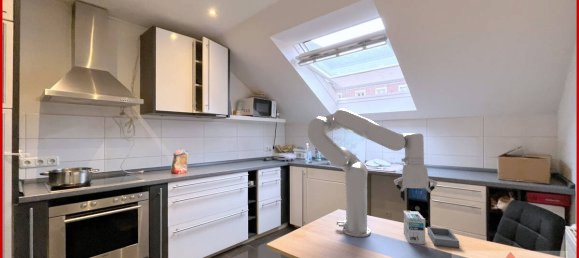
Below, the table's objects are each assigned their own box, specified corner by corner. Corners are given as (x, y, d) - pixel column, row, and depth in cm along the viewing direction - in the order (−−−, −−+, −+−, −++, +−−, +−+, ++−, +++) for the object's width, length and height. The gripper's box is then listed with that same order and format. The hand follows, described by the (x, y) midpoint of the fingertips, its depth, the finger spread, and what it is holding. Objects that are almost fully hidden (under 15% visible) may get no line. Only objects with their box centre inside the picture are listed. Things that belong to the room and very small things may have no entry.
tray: (434, 245, 109) (434, 238, 109) (427, 233, 122) (427, 226, 122) (459, 248, 107) (459, 241, 107) (449, 235, 119) (449, 228, 119)
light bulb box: (425, 244, 110) (425, 219, 110) (408, 243, 112) (408, 218, 111) (418, 234, 121) (418, 211, 120) (403, 233, 122) (403, 210, 122)
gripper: (394, 162, 114) (394, 201, 115) (438, 162, 110) (439, 203, 110) (392, 160, 122) (393, 197, 122) (434, 160, 117) (435, 199, 117)
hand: (415, 200), depth 116 cm, fingers open, 9 cm apart
